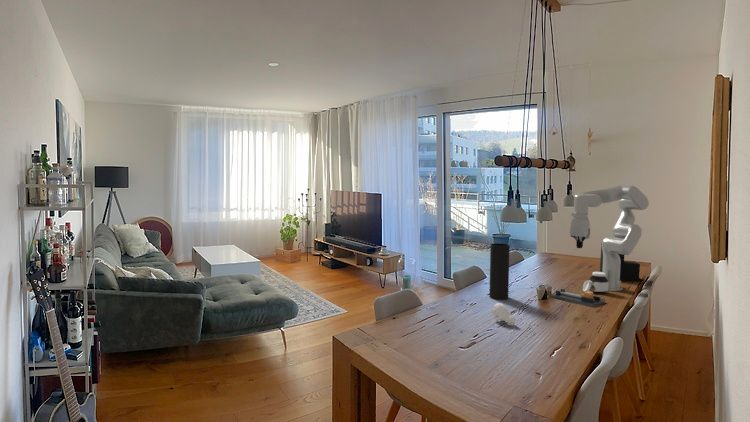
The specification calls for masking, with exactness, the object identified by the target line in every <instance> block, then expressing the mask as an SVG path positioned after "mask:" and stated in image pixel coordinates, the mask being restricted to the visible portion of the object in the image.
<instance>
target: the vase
mask: <svg viewBox="0 0 750 422" xmlns="http://www.w3.org/2000/svg"><path fill="white" fill-rule="evenodd" d="M510 246H511V245H510V244H508V243H500V242H498V243H497V242H495V243H490V248H489V249H490V251H489V253H490V254H489V255H490V256H489V263H490V264H489V265H490V266H489V292H488V293H489V295H488V297H489V298H490V299H493V300H498V301H499V300H501V301H505V300H508V299H509V281H510V279H509V277H510V248H511V247H510Z"/></svg>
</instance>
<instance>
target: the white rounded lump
mask: <svg viewBox="0 0 750 422" xmlns="http://www.w3.org/2000/svg"><path fill="white" fill-rule="evenodd" d="M491 312H492V316H493V319H494V323H498V321H503V322H504V321H505V322H506V324H507V326H511V327H513V326H514V325H515V323H516V318H515V316H514V315H511V312H510V311H509V309H508V308H507V306H506V305H505V304H504V303H499V302H497V303H495V304H494V305H493V307H492V309H491Z"/></svg>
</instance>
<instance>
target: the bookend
mask: <svg viewBox="0 0 750 422" xmlns="http://www.w3.org/2000/svg"><path fill="white" fill-rule="evenodd" d="M600 243H601V247H600V262H599V263H600V264H599V272H602V271H603V250H602V242H600ZM618 255H619V257H620V260H621V265H620V281H627V282H630V281H631V282H643V279H642V278H641V277H640V268H641V263H639V262H637V261H632V260H625V255H622V254H618Z"/></svg>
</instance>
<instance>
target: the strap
mask: <svg viewBox="0 0 750 422" xmlns="http://www.w3.org/2000/svg"><path fill="white" fill-rule="evenodd" d="M559 291H560V294H563V295H568V296H573V297H578V298H582V296H581V295H579V294H580V293H576V294H574V293H575V292H571V293H568V292H569V291H567V292H563V291H561V290H559Z"/></svg>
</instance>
